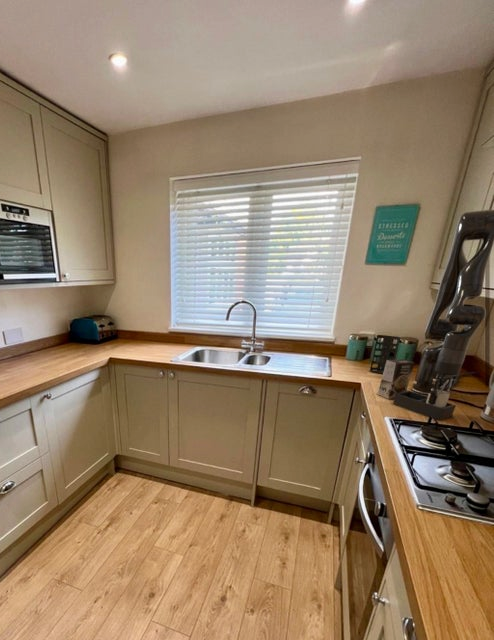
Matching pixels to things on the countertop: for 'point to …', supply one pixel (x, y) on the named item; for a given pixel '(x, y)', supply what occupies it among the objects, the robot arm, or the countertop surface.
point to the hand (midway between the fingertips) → (436, 402)
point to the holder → (384, 352)
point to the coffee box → (395, 377)
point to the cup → (440, 399)
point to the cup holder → (422, 405)
